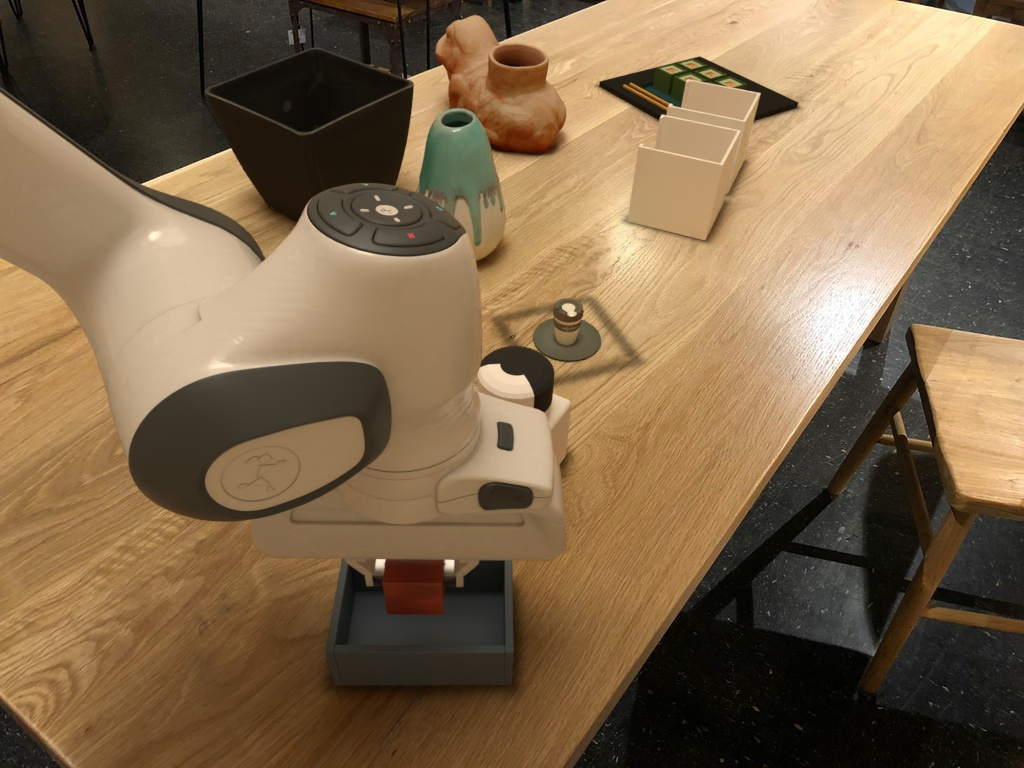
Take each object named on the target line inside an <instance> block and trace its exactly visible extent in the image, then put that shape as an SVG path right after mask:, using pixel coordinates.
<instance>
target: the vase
mask: <svg viewBox="0 0 1024 768" xmlns="http://www.w3.org/2000/svg"><path fill="white" fill-rule="evenodd" d="M418 180H419V181H418V184H417V187H416V190H415V192H416V193H420V194H423V195H424V196H426V197H428V198H430V199H431V200H433V201H435V202H436V203H438V204H439V205H440V206H442V207H443V208H444V209H445V210H447V211H448V212H449V213H450V214H451V215H452V216H453V217H454V218H455V219H456V220H457V221H458V222H459V223H460V224H461V225H462V226H463V227H464V229H465V230H466V232H467V234H468V236H469V238H470V241H471V243H472V247H473V250H474V254H475V258H476V262H478V261H480V260H483V259H484V258H486V257H487V256H489V255H490V254H491V253H493V251H494V250H495V249H496V248H497V247H498V245H499V244H500V242H501V241H502V238H503V235H504V233H505V228H506V221H507V218H506V217H507V216H506V206H505V201H504V196H503V192H502V185H501V183H500V178H499V175H498V171H497V168H496V164H495V160H494V155H493V152H492V148H491V146H490V142H489V139H488V136H487V133H486V131H485V129H484V127H483V125H482V123H481V122H480V120H479V119H478V118H477V116H476V115H475V114H474V113H473V112H471V111H469V110H467V109H462V108H453V109H449V108H448V109H446V110H444V111H441V112H439V114H438V115H437V116H436V117H435V118H434V120H433V122H432V123H431V125H430V127H429V130H428V133H427V136H426V142H425V147H424V154H423V158H422V164H421V168H420V173H419V177H418Z"/></svg>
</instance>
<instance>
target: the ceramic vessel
mask: <svg viewBox="0 0 1024 768" xmlns="http://www.w3.org/2000/svg"><path fill="white" fill-rule="evenodd" d="M434 54H435V56H436V59H437V60H438V62H439V63H440V64H441V65H442V66H443V67H444V69H445V71H446V73H447V79H448V81H449V82H448V88H447V95H448V103H449V107H448V110H449V109H453V108H462V109H467V110H469V111H471V112H473V113H474V114H475V115H476V116H477V118H478V119H479V120H480V122H481V123H482V125H483V127H484V129H485V131H486V133H487V136H488V139H489V142H490V146H491V149H494V150H496V151H498V152H509V153H520V154H529V155H539V154H545V153H548V152H549V151H550V150H551V149H552V148H553V145H554V143H555V142H556V141H557V139H558V136H559V132H560V131H561V130H562V129H563V127H564V126H565V123H566V119H567V107H566V105H565V102H564V101H563V99H562V98H561V96H560V95H559V93H558V91H557V89H556V88H555V87H554V86H553V85H552V84H551V83H550V82H549V81H548V80H547V76H548V70H549V64H550V59H549V56H548V54H547V53H546V52H545V50H543V49H541V48H539V47H537V46H535V45H532V44H528V43H524V42H503V43H500V42H499V41H498V40H497V37H496V35H495V34H494V31H493V30H492V28H491V27H490V25H489V24H488V22H487V21H486V20H485V19H484V18H483V17H481V16H480V15H475V14H474V15H470V16H468V17H466V18H463V19H457V20H454V21H453V22H451V24H450V25H448V26H447V27H446V30H445V34H443V35H442V37H440V38H439V39H438V41H437V43H436V46H435V50H434Z"/></svg>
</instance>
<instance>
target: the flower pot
mask: <svg viewBox="0 0 1024 768" xmlns="http://www.w3.org/2000/svg"><path fill="white" fill-rule="evenodd" d="M414 87H415V83H414V82H413V80H411V79H407V78H405V77H402V76H399V75H398V74H394V73H391V72H389V71H387V70H386V71H385V70H383V69H380V68H377V67H374V66H372V65H369V64H366V63H363V62H361V61H358V60H356V59H352V58H350V57H347V56H344V55H341V54H338V53H335V52H333V51H329V50H327V49H324V48H321V47H311V48H308V49H305V50H302V51H299V52H297V53H294V54H292V55H288V56H286V57H284V58H281V59H279V60H276V61H273V62H271V63H268V64H265V65H263V66H260V67H258V68H255V69H252V70H250V71H247V72H245V73H242V74H240V75H238V76H235V77H232V78H229V79H226V80H224V81H222V82H220V83H216V84H214V85H212V86H209V87H207V88H206V89H205V90H204V94H205V96H206V98H207V101H208V103H209V106H210V108H211V111H212V113H213V114H214V117H215V119H216V121H217V123H218V126H219V127H220V130H221V132H222V134H223V135H224V138H225V140H226V142H227V143H228V145H229V147H230V149H231V151H232V153H233V154H234V156H235V158H236V160H237V162H238V163H239V165H240V167H241V168H242V170H243V172H244V173H245V175H246V176H247V178H248V179H249V181H250V183H251V184H252V186H253V187H254V189H255V190H256V192H257V193H258V194H259V196H260V197H261V199H262V200H263V202H264V203H265V204H266V206H267V207H269V208H270V209H272V210H274V211H276V212H278V213H280V214H282V215H284V216H285V217H287V218H289V219H292V220H294V221H296V222H298V221H299V219H300V217H301V215H302V212H303V211H304V209H305V207H306V205H307V204H308V202H309V201H310V200H311V199H312V198H313V197H314V196H316V195H317V194H319V193H321V192H323V191H325V190H328V189H330V188H334V187H338V186H343V185H348V184H355V183H378V184H387V185H393V186H397V182H398V179H399V175H400V173H401V169H402V165H403V161H404V156H405V152H406V148H407V144H408V143H407V142H408V137H409V133H410V125H411V120H412V112H413V111H412V110H413V102H414V101H413V100H414V89H415V88H414Z"/></svg>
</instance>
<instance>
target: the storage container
mask: <svg viewBox="0 0 1024 768" xmlns="http://www.w3.org/2000/svg"><path fill="white" fill-rule="evenodd" d="M760 94H761V93H757V92H752V91H747V90H741V89H736V88H731V87H726V86H720V85H715V84H710V83H705V82H699V81H694V80H689V79H688V80H687V81H686V84H685V89H684V95H683V100H682V106H681V108H680V107H675V106H673V104H671V103H670V104H669V106H668V109H667V115H661V117H660V119H659V120H658V126H657V131H656V139H655V145H654V148H652V147H649V146H645V144H644V143H641V142H640V144H639V145H638V148H637V154H636V161H635V166H634V174H633V182H632V188H631V195H630V200H629V208H628V215H627V220H626V222H628V223H632V224H637V225H641V226H645V227H648V228H652V229H656V230H661V231H664V232H670V233H673V234H678V235H680V236H681V235H682V236H686V237H689V238H694V239H697V240H702V241H706V240H707V238H708V236H709V233H710V232H711V230H712V227H713V226H714V224H715V221H716V219H717V217H718V215H719V213H720V211H721V209H722V207H723V205H724V203H725V198H726V194H727V195H728V194H729V193H730V191H731V189H732V187H733V184H734V182H735V180H736V179H737V176H738V174H739V172H740V170H741V168H742V166H743V164H744V161H745V157H746V153H747V149H748V145H749V141H750V138H751V134H752V131H753V126H754V122H755V121H754V118H755V114H756V110H757V106H758V102H759V98H760Z"/></svg>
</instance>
